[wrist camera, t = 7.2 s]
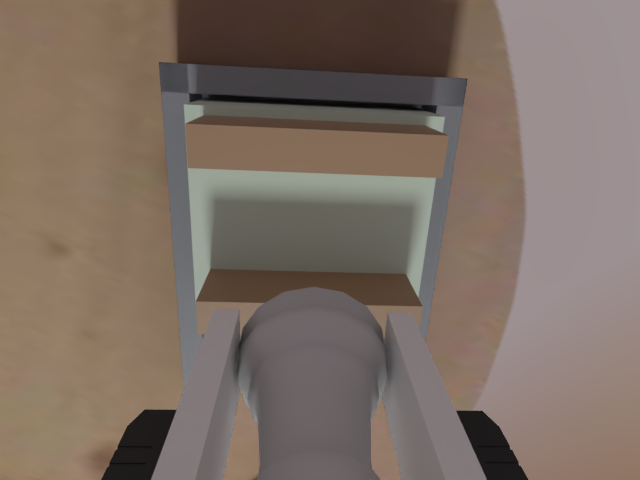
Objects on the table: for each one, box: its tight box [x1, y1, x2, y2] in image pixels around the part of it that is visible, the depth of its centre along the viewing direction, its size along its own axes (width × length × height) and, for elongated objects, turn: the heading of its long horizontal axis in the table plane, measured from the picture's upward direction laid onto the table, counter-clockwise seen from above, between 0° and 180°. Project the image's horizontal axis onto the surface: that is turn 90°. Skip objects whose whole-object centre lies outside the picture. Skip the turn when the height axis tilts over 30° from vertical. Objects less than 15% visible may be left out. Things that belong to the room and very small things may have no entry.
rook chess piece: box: [236, 287, 388, 480], centre depth 10 cm, size 4×4×8 cm
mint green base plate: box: [184, 98, 449, 338], centre depth 27 cm, size 14×12×10 cm
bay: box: [159, 62, 467, 390], centre depth 32 cm, size 18×26×4 cm
